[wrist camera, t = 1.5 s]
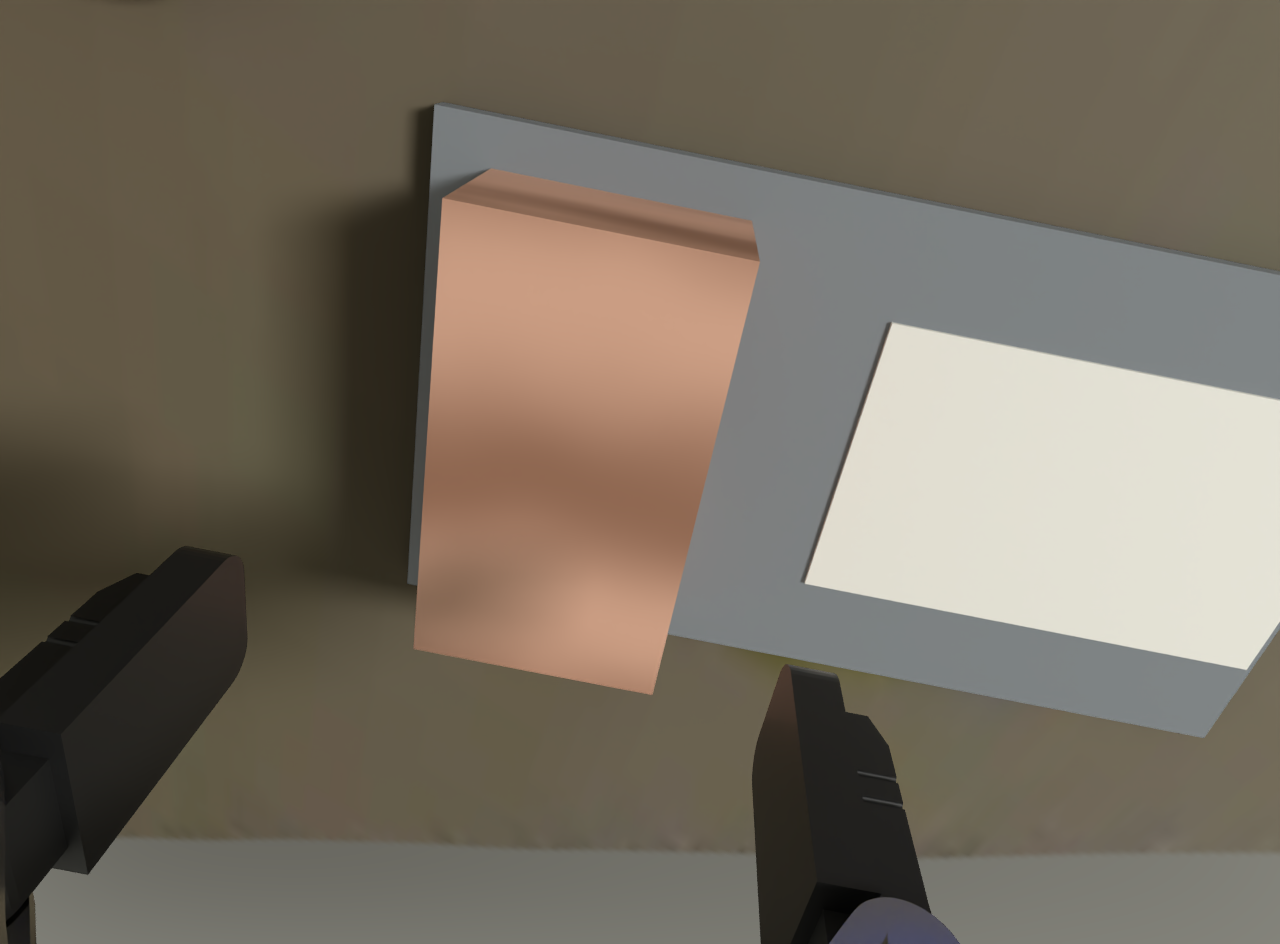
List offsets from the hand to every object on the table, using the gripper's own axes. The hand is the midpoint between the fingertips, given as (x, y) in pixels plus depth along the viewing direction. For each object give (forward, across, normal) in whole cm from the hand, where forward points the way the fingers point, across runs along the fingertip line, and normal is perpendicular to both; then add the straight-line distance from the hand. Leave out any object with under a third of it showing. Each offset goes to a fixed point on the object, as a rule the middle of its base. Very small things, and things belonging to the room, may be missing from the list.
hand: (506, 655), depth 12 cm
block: (+8, 0, 0) cm, 8 cm away
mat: (+9, -7, 0) cm, 11 cm away
